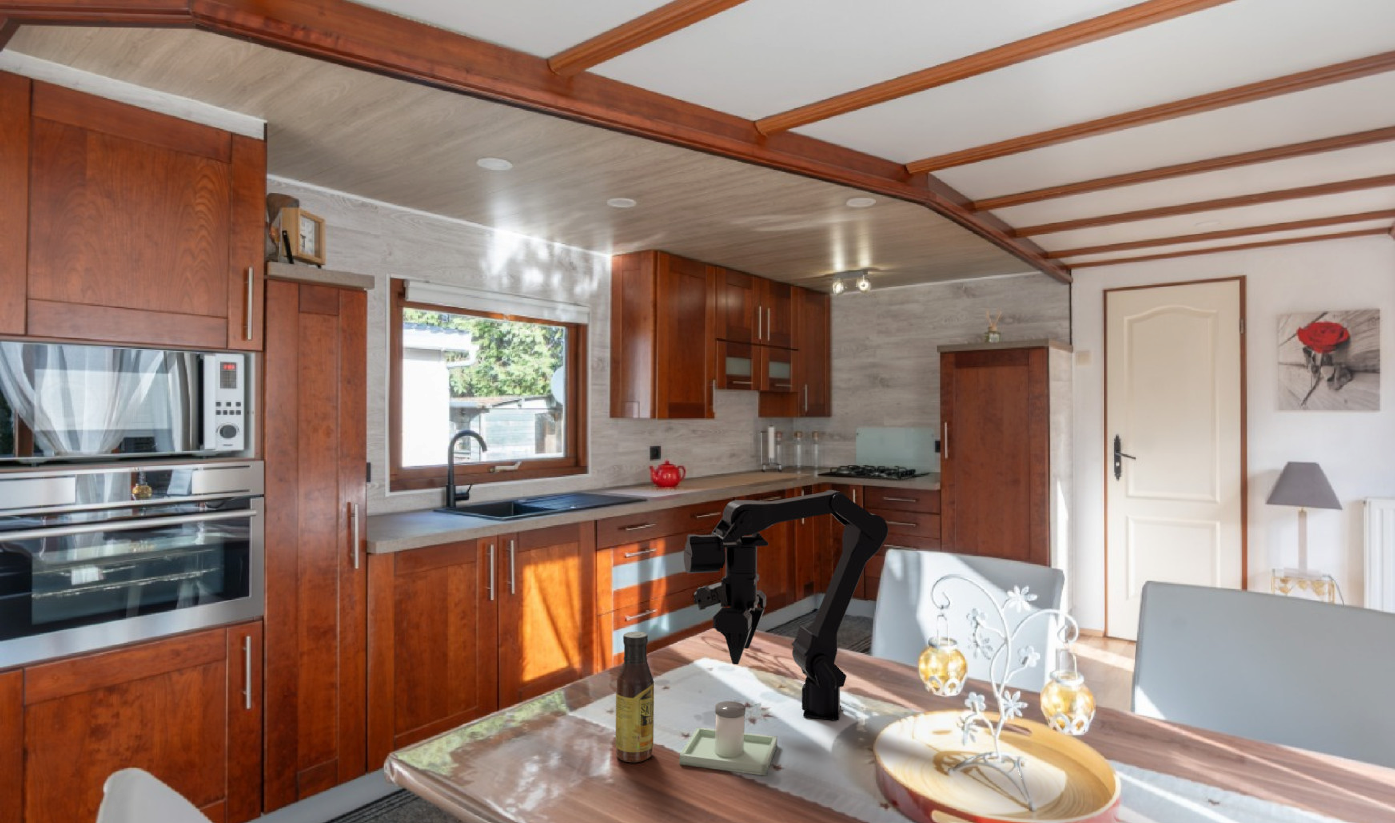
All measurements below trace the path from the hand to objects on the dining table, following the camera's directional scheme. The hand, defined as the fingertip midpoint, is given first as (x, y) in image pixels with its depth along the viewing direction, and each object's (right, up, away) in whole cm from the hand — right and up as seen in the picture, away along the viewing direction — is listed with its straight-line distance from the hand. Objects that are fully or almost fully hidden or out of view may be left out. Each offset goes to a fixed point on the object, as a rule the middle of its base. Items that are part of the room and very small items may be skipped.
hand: (740, 655), depth 138 cm
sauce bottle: (-18, -12, -14) cm, 26 cm away
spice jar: (-3, -12, -13) cm, 18 cm away
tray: (-3, -12, -13) cm, 18 cm away
